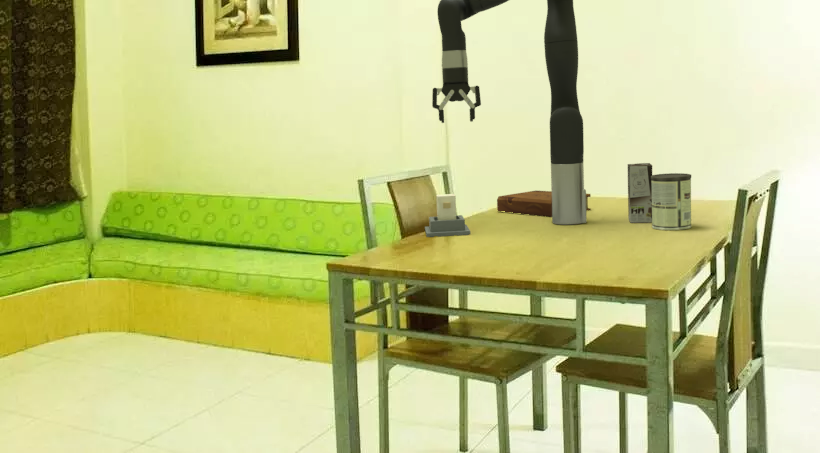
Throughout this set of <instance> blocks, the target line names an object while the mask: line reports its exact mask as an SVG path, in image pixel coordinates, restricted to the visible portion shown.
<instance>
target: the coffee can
mask: <svg viewBox="0 0 820 453" xmlns="http://www.w3.org/2000/svg"><path fill="white" fill-rule="evenodd" d="M651 183H652V222H651V225H652V226H651V228H652V229H653V230H659V231H679V230H680V231H683V230H688V229H691V228H692V174H690V173H682V172H681V173H676V172H675V173H659V174H652V176H651Z"/></svg>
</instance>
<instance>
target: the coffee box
mask: <svg viewBox="0 0 820 453" xmlns="http://www.w3.org/2000/svg"><path fill="white" fill-rule="evenodd" d="M652 175H653V165H652V164H651V163H650V162H643V163H642V162H641V163H628V164H627V204H628V206H627V211H628V215H627V216H628V218H627V219H628V221H629V222H630V223H632V224H633V223H634V224H635V223H652V183H651V176H652Z"/></svg>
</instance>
